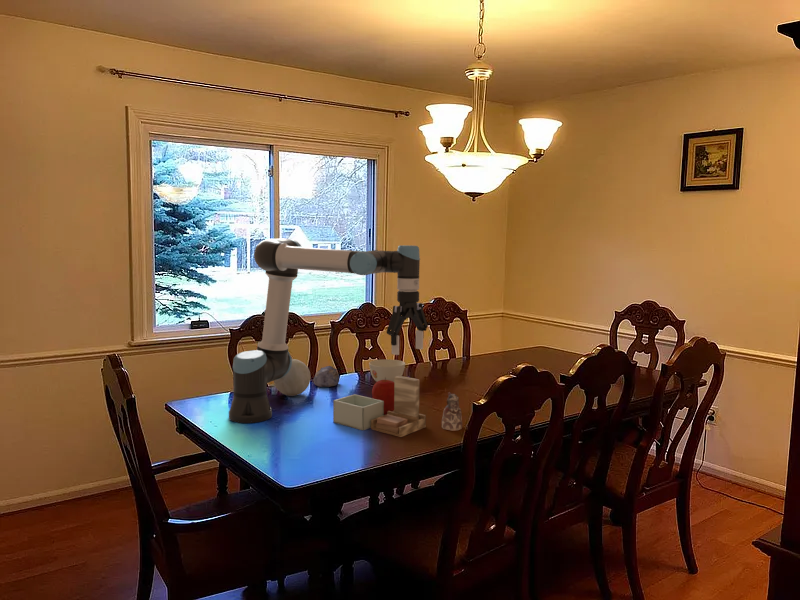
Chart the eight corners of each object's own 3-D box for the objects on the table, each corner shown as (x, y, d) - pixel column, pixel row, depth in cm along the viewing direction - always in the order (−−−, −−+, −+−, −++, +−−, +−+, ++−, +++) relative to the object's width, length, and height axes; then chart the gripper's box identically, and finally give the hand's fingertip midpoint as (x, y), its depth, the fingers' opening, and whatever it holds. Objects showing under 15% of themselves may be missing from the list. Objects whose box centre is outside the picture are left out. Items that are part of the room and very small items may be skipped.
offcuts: (397, 433, 206) (397, 423, 206) (375, 427, 212) (375, 418, 212) (410, 428, 212) (411, 419, 212) (389, 422, 218) (389, 413, 218)
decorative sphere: (299, 401, 246) (299, 364, 244) (266, 398, 251) (266, 361, 249) (316, 392, 260) (316, 357, 258) (285, 389, 265) (284, 354, 263)
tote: (362, 430, 211) (363, 407, 210) (333, 422, 220) (333, 400, 219) (383, 423, 220) (383, 401, 219) (354, 415, 228) (354, 394, 228)
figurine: (445, 431, 212) (446, 396, 210) (438, 425, 218) (439, 391, 217) (465, 429, 214) (466, 395, 212) (457, 423, 220) (458, 390, 219)
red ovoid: (404, 413, 232) (404, 377, 230) (385, 419, 225) (385, 381, 223) (384, 407, 239) (385, 372, 237) (365, 413, 232) (366, 376, 230)
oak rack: (400, 437, 205) (400, 424, 204) (370, 429, 213) (371, 416, 212) (425, 427, 216) (425, 415, 215) (396, 419, 224) (396, 408, 223)
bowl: (410, 388, 270) (410, 365, 269) (375, 391, 264) (375, 368, 263) (397, 379, 285) (397, 358, 284) (363, 382, 279) (364, 360, 278)
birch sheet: (414, 426, 214) (415, 380, 212) (394, 421, 220) (394, 376, 218) (418, 424, 216) (419, 379, 214) (398, 419, 221) (399, 375, 220)
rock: (342, 376, 278) (334, 359, 273) (337, 392, 270) (330, 375, 265) (319, 379, 281) (312, 363, 276) (314, 395, 272) (307, 378, 267)
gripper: (393, 293, 201) (393, 358, 203) (438, 288, 220) (437, 347, 222) (376, 292, 205) (375, 355, 208) (421, 287, 225) (420, 345, 227)
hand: (407, 351), depth 215 cm, fingers open, 13 cm apart
